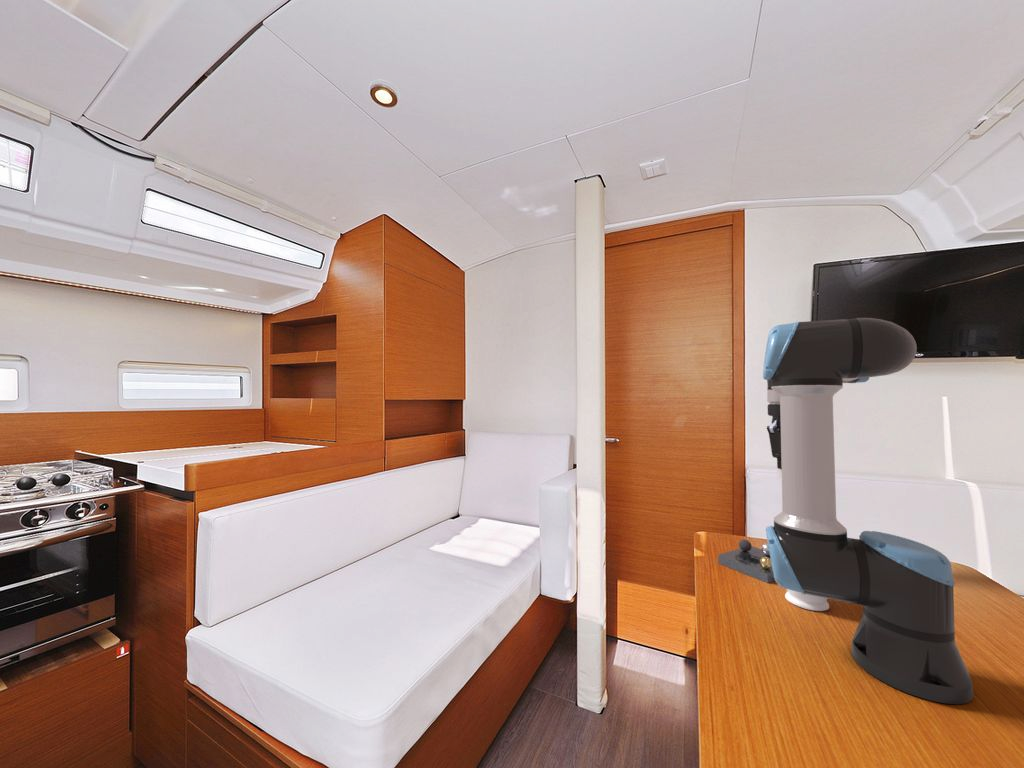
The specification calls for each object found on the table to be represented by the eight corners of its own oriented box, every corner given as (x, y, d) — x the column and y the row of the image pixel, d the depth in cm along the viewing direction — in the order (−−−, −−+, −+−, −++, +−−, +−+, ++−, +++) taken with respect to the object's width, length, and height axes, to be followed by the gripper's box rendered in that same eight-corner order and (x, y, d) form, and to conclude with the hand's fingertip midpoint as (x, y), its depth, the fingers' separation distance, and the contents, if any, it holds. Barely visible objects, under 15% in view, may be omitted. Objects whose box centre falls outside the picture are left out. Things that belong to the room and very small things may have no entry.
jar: (815, 593, 98) (814, 533, 98) (846, 616, 87) (845, 548, 88) (771, 590, 99) (770, 531, 99) (796, 613, 88) (795, 546, 89)
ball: (770, 558, 113) (770, 546, 113) (758, 554, 116) (758, 542, 116) (777, 556, 114) (777, 544, 115) (765, 552, 117) (765, 540, 118)
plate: (767, 583, 103) (767, 573, 103) (718, 563, 115) (718, 554, 115) (799, 571, 110) (799, 562, 110) (750, 553, 123) (750, 545, 123)
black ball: (747, 554, 116) (747, 542, 116) (736, 550, 119) (736, 538, 119) (754, 552, 117) (753, 540, 118) (743, 548, 120) (742, 537, 121)
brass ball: (768, 571, 104) (768, 560, 104) (757, 567, 107) (757, 556, 107) (775, 569, 105) (774, 558, 106) (763, 565, 108) (763, 554, 108)
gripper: (783, 403, 115) (784, 483, 114) (806, 403, 121) (808, 479, 120) (757, 403, 121) (758, 478, 120) (780, 403, 127) (781, 475, 127)
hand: (783, 479), depth 120 cm, fingers closed
